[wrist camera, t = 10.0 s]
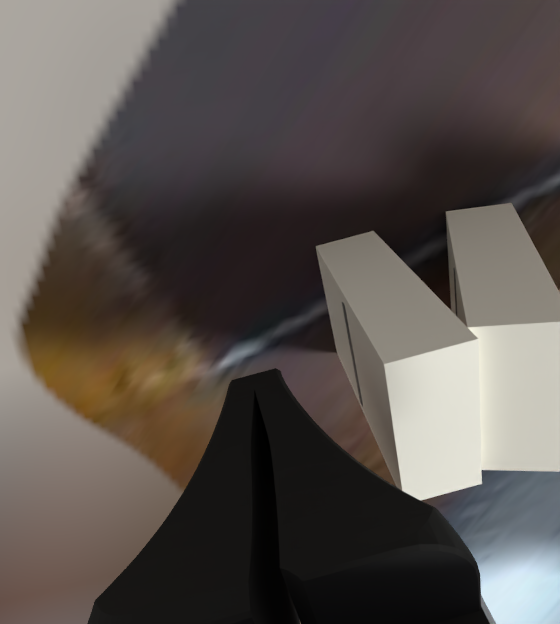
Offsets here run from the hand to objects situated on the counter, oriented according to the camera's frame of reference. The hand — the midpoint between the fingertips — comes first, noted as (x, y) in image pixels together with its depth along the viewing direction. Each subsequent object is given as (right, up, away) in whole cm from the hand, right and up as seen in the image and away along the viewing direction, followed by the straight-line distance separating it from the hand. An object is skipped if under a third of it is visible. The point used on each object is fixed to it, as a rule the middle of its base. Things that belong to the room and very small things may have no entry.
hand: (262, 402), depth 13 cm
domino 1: (+3, +3, +4) cm, 6 cm away
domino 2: (+7, +4, +4) cm, 9 cm away
